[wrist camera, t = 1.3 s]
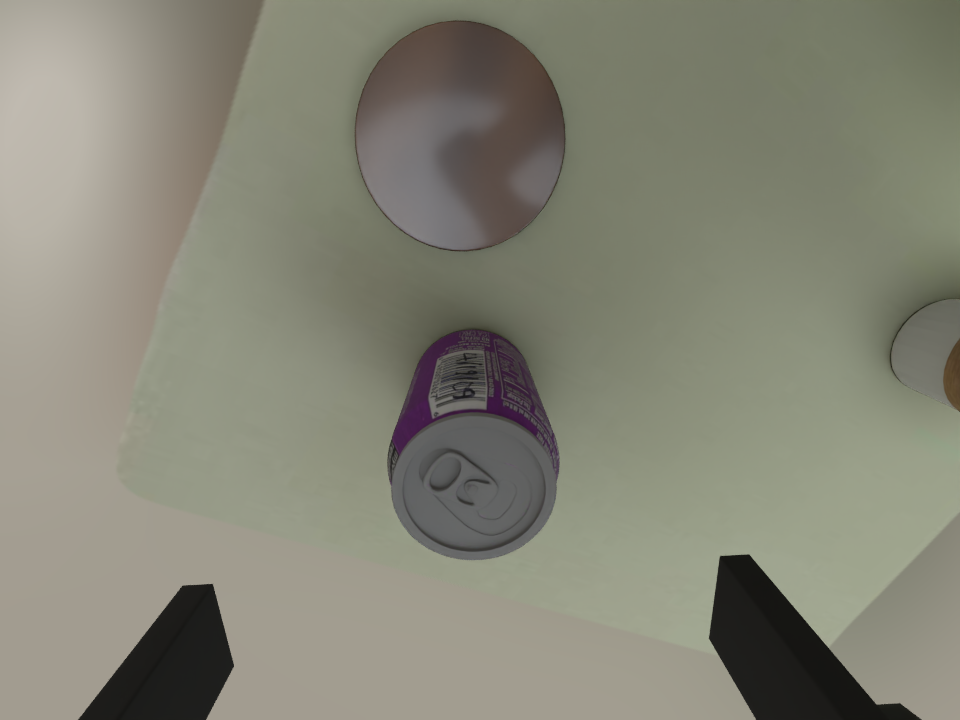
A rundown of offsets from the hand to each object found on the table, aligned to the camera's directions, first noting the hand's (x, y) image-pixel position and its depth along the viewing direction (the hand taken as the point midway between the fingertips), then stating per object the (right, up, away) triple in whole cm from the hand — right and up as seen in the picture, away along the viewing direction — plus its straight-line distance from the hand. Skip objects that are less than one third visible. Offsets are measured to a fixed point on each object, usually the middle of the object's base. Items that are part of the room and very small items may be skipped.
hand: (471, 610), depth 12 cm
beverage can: (0, +5, +17) cm, 17 cm away
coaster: (-1, +18, +12) cm, 22 cm away
